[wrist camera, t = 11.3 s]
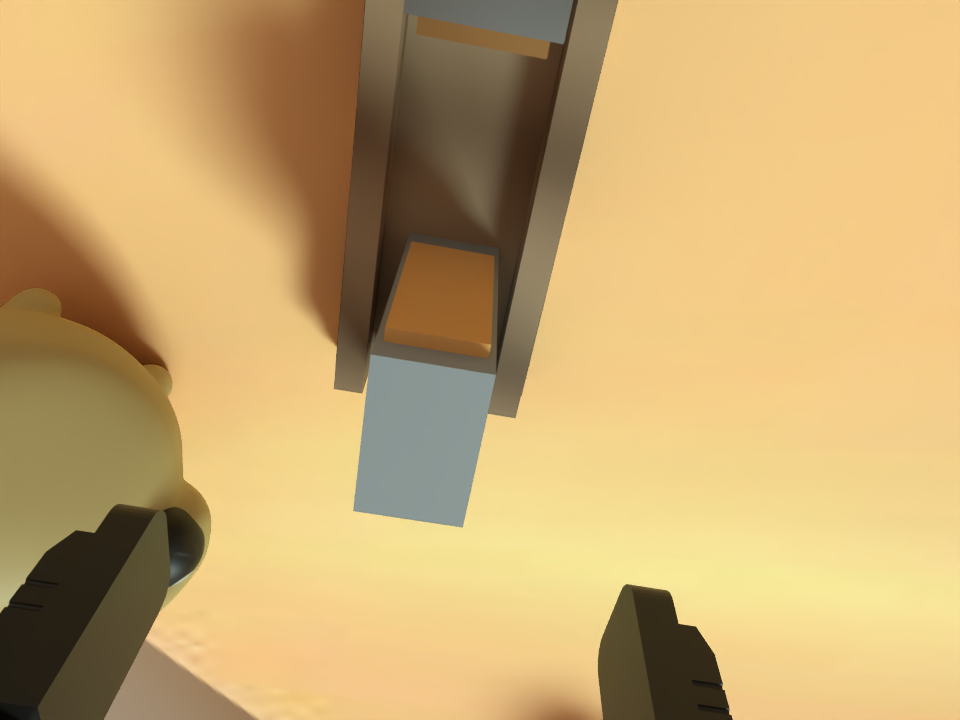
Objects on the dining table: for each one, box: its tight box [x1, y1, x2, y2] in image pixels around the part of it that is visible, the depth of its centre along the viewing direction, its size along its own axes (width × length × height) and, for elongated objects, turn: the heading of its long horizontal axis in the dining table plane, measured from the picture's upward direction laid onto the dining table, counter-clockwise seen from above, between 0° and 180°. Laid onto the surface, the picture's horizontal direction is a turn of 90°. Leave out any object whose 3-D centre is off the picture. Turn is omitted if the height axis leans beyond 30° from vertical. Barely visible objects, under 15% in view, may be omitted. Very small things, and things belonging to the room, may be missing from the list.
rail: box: [334, 0, 618, 418], centre depth 19 cm, size 20×7×9 cm, turn 170°
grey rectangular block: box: [353, 233, 499, 527], centre depth 22 cm, size 5×3×8 cm, turn 170°
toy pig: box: [0, 288, 211, 613], centre depth 24 cm, size 10×12×11 cm
